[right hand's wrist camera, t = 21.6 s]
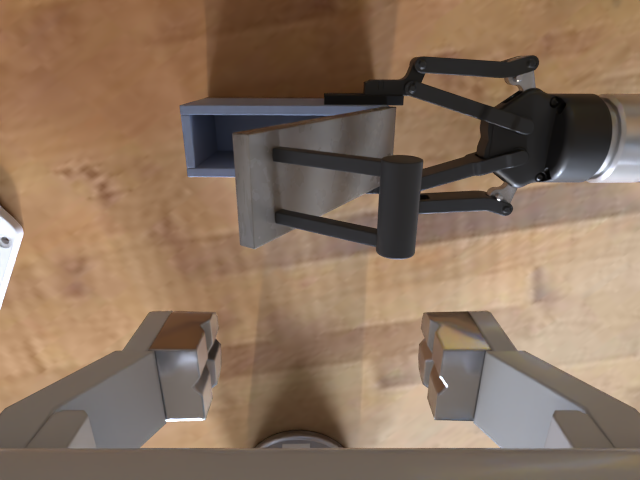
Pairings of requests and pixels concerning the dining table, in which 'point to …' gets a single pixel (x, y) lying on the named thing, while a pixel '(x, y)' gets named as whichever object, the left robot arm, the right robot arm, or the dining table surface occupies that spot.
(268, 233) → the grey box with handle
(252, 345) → the dining table surface
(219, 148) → the chest
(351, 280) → the dining table surface
